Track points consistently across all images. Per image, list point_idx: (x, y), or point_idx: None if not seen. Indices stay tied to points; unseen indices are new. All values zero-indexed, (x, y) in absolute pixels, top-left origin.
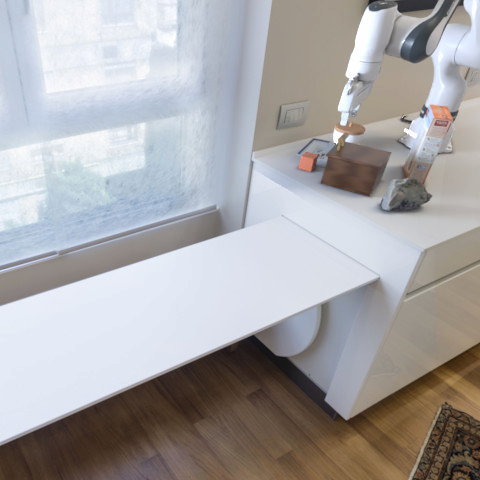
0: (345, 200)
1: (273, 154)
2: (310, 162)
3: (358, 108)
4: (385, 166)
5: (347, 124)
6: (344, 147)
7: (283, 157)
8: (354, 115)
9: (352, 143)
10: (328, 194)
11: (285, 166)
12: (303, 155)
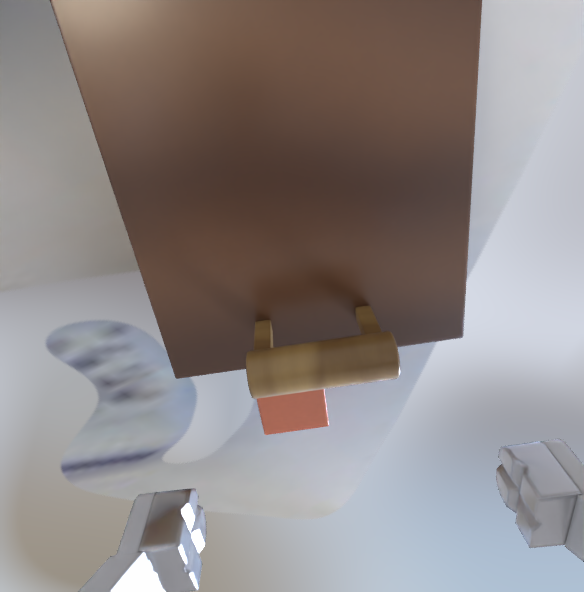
0: (523, 56)
1: (266, 497)
2: None
3: (116, 584)
4: None
5: None
6: (274, 306)
7: (263, 466)
8: (192, 507)
9: (155, 301)
10: (500, 163)
11: (338, 424)
12: (317, 423)
